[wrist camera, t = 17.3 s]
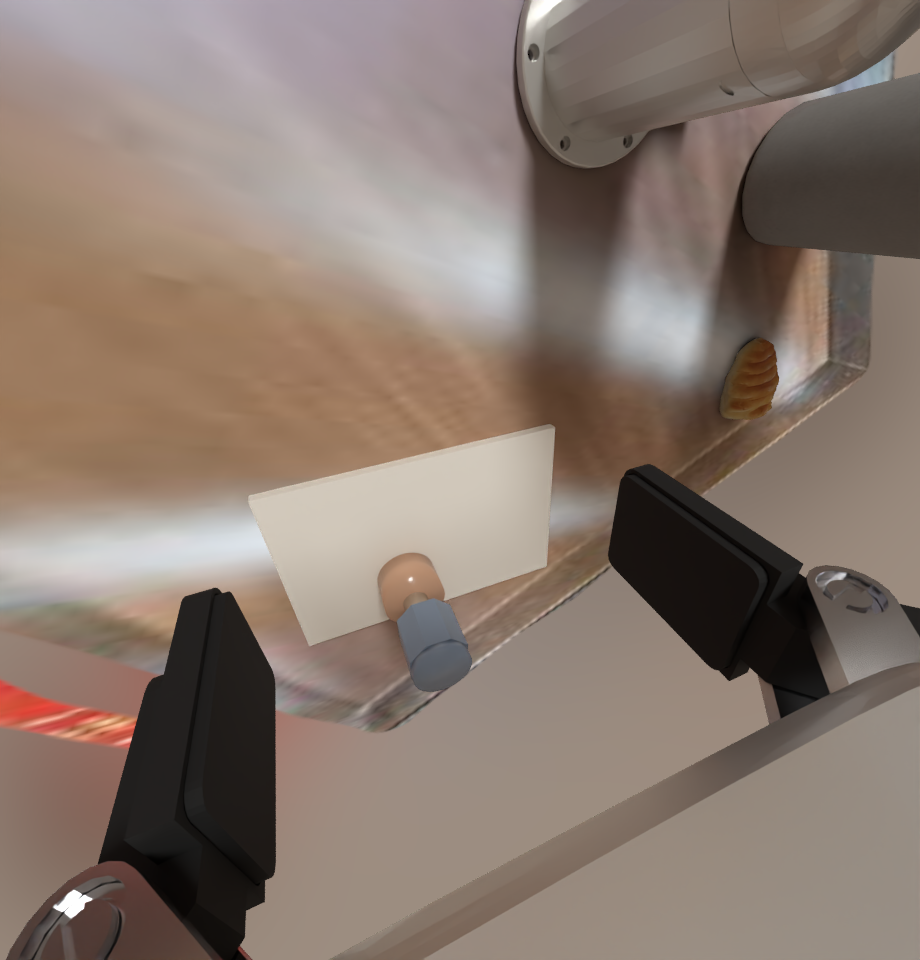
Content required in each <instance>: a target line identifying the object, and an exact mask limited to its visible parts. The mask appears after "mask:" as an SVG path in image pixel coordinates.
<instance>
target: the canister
mask: <svg viewBox="0 0 920 960" xmlns="http://www.w3.org/2000/svg"><path fill="white" fill-rule="evenodd" d="M742 216H743V219H744V223H745V226H746V229H747V231H748V233H749V234H750V235H751V236H752V237H753V238H754V240H756V241H757V242H761V243H764V244H768V245H776V246H787V247H798V248H808V249H819V250H830V251H840V252H851V253H862V254H872V255H883V256H894V257H904V258H916V259H920V73H918V74H914V75H910V76H907V77H902V78H898V79H894V80H890V81H886V82H882V83H878V84H874V85H870V86H866V87H862V88H858V89H854V90H851V91H847V92H843V93H839V94H835V95H831V96H827V97H823V98H819V99H815V100H811V101H807V102H804V103H802V104H800V105H799V106H797V107H795V108H794V109H792V110H790V111H789V112H787V113H786V114H785V115H784V116H783V117H782V118H781V119H780V120H779V121H778V122H777V123H776V124H775V125H774V126H773V127H772V128H771V129H770V131H769V132H768V134H767V135H766V137H765V139H764V140H763V142H762V143H761V145H760V147H759V148H758V150H757V151H756V153H755V156H754V158H753V161H752V163H751V166H750V168H749V171H748V173H747V177H746V181H745V186H744V191H743V196H742Z"/></svg>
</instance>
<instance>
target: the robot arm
mask: <svg viewBox="0 0 920 960" xmlns="http://www.w3.org/2000/svg"><path fill="white" fill-rule="evenodd" d="M919 28H920V0H525V2H524V5H523V8H522V12H521V18H520V24H519V30H518V36H517V60H516V64H517V75H518V86H519V91H520V95H521V100H522V104H523V108H524V111H525V114H526V116H527V119H528V121H529V124H530V127H531V128H532V130H533V132H534V134H535V135H536V137H537V139H538V140H539V142H540V143H541V144H542V146H543V147H544V148H545V149H546V150H547V151H548V152H549V153H550V155H552V156H553V157H555V158H556V159H558V160H559V161H560V162H562V163H564V164H567V165H569V166H572V167H575V168H586V169H589V168H596V167H602V166H605V165H608V164H611V163H614V162H616V161H617V160H619V159H621V158H622V157H624V156H625V155H627V154H628V153H629V152H630V151H631V150H633V149H634V148H635V147H636V146H637V145H638V144H639V143H640V142H641V140H642V139H643V138H644V137H645V135H646V134H647V133H648V132H649V130H652V129H656V128H661V127H665V126H669V125H674V124H678V123H682V122H687V121H691V120H695V119H700V118H704V117H708V116H713V115H717V114H721V113H726V112H730V111H734V110H739V109H743V108H747V107H752V106H756V105H760V104H765V103H769V102H773V101H778V100H782V99H786V98H791V97H795V96H800V95H804V94H808V93H812V92H816V91H820V90H823V89H826V88H829V87H832V86H835V85H838V84H840V83H842V82H844V81H847V80H849V79H851V78H853V77H855V76H857V75H859V74H860V73H862V72H864V71H865V70H867V69H868V68H870V67H872V66H873V65H875V64H877V63H878V62H880V61H881V60H882V59H884V58H885V57H886V56H888V55H889V54H890V53H891V52H893V51H894V50H895V49H896V48H898V47H899V46H900V45H901V44H903V43H904V42H905V41H906V40H907V39H908V38H909V37H911V36H912V35H913V34H914V33H915V32H916V31H917V30H918V29H919ZM527 52H528V53H529V54H530V59H529V58H528V53H527ZM560 142H561V148H560ZM608 557H609V561H610V563H611V565H612V566H613V567H614V569H615V570H616V571H617V572H618V573H619V574H620V575H621V576H622V577H623V578H624V579H625V580H626V581H627V582H628V583H629V584H630V585H631V586H632V587H633V588H634V589H635V590H636V591H637V592H638V593H639V594H640V595H641V596H642V598H643V599H644V600H645V601H646V602H647V603H648V604H649V605H650V606H651V607H652V608H653V609H654V610H655V611H656V612H657V613H658V614H659V615H660V616H661V617H662V618H663V619H664V620H665V621H666V622H667V623H668V624H669V625H670V627H671V628H673V630H674V631H675V632H676V633H677V634H678V635H679V636H680V637H681V638H682V639H683V640H684V641H685V642H686V643H687V644H688V645H689V646H690V647H691V648H692V649H693V650H694V651H695V652H696V653H697V654H698V655H699V657H701V659H702V660H703V661H704V662H705V663H706V664H707V665H708V666H710V667H711V668H713V669H715V670H719V671H720V672H721V673H722V674H723V675H724V676H725V677H726V678H727V680H729V681H730V680H732V679H734V678H737V677H739V676H741V675H743V674H745V673H747V672H748V670H749V668H751V669H752V670H753V671H754V672H755V673H757V674H758V678H759V682H760V686H761V691H762V694H763V700H764V704H765V708H766V713H767V717H768V721H769V725H768V726H766V727H764V728H762V729H760V730H758V731H756V732H755V733H753V734H751V735H749V736H747V737H745V738H743V739H741V740H739V741H738V742H735V743H734V744H731V745H730V746H728V747H726V748H724V749H722V750H720V751H718V752H716V753H714V754H712V755H710V756H708V757H706V758H704V759H703V760H701V761H699V762H697V763H695V764H693V765H691V766H689V767H687V768H685V769H684V770H682V771H680V772H678V773H676V774H674V775H672V776H670V777H668V778H666V779H664V780H663V781H661V782H659V783H657V784H655V785H653V786H652V787H649V788H647V789H645V790H644V791H642V792H640V793H638V794H636V795H634V796H632V797H630V798H628V799H627V800H625V801H623V802H621V803H619V804H617V805H615V806H613V807H611V808H609V809H607V810H605V811H604V812H602V813H600V814H598V815H596V816H594V817H592V818H590V819H588V820H587V821H585V822H583V823H581V824H579V825H577V826H575V827H573V828H571V829H569V830H567V831H566V832H564V833H562V834H560V835H558V836H556V837H554V838H552V839H551V840H549V841H547V842H545V843H543V844H541V845H539V846H537V847H536V848H534V849H532V850H530V851H528V852H526V853H524V854H523V855H520V856H519V857H517V858H515V859H513V860H511V861H509V862H507V863H506V864H504V865H502V866H500V867H498V868H496V869H494V870H492V871H491V872H489V873H487V874H485V875H483V876H481V877H479V878H477V879H475V880H473V881H472V882H470V883H468V884H466V885H464V886H462V887H460V888H459V889H457V890H455V891H453V892H451V893H449V894H447V895H446V896H443V897H442V898H440V899H438V900H436V901H434V902H432V903H430V904H428V905H427V906H425V907H423V908H421V909H419V910H418V911H416V912H414V913H413V914H410V915H409V916H407V917H405V918H403V919H402V920H400V921H398V922H396V923H394V924H393V925H391V926H389V927H387V928H385V929H384V930H382V931H380V932H379V933H376V934H375V935H373V936H371V937H369V938H367V939H366V940H364V941H362V942H360V943H358V944H357V945H355V946H353V947H351V948H349V949H348V950H346V951H344V952H342V953H340V954H338V955H337V956H335V957H333V958H332V959H329V960H920V608H915V607H910V606H906V605H902V604H899V603H898V601H897V599H896V598H895V597H894V596H893V595H892V593H891V592H890V591H889V590H888V589H887V588H885V587H884V586H883V585H882V584H880V583H879V582H877V581H876V580H874V579H872V578H870V577H868V576H866V575H864V574H862V573H859V572H857V571H854V570H851V569H847V568H843V567H839V566H828V565H825V566H819V567H815V568H813V569H812V570H810V571H809V573H808V575H807V577H806V578H805V577H804V576H802V575H801V574H799V571H800V569H801V567H802V566H803V563H801V562H800V561H798V560H797V559H795V558H793V557H792V556H791V555H789V554H787V553H786V552H784V551H783V550H781V549H780V548H778V547H777V546H775V545H774V544H772V543H771V542H769V541H768V540H766V539H765V538H763V537H762V536H760V535H758V534H757V533H756V532H754V531H752V530H751V529H749V528H748V527H746V526H745V525H743V524H742V523H740V522H739V521H737V520H736V519H734V518H732V517H731V516H730V515H728V514H726V513H725V512H723V511H722V510H720V509H719V508H717V507H716V506H714V505H713V504H711V503H710V502H708V501H707V500H705V499H704V498H702V497H701V496H699V495H698V494H696V493H695V492H693V491H692V490H690V489H688V488H687V487H685V486H684V485H682V484H681V483H679V482H678V481H676V480H675V479H673V478H672V477H670V476H669V475H667V474H666V473H664V472H663V471H661V470H660V469H658V468H656V467H655V466H653V465H651V464H647V465H643V466H640V467H636V468H633V469H629V470H627V471H626V473H625V475H624V477H623V478H622V479H621V481H620V486H619V492H618V498H617V504H616V510H615V516H614V522H613V528H612V534H611V540H610V546H609V552H608ZM275 761H276V760H275V679H274V674H273V671H272V669H271V667H270V665H269V663H268V661H267V659H266V657H265V655H264V653H263V651H262V650H261V648H260V646H259V644H258V642H257V640H256V638H255V636H254V634H253V632H252V631H251V629H250V627H249V625H248V623H247V621H246V619H245V617H244V615H243V613H242V612H241V610H240V608H239V606H238V604H237V602H236V600H235V598H234V596H233V595H232V593H231V592H225V593H221V591H220V590H219V589H218V588H213V589H209V590H206V591H202V592H199V593H195V594H192V595H188V596H185V597H184V598H183V600H182V602H181V606H180V610H179V614H178V618H177V622H176V626H175V631H174V635H173V639H172V643H171V647H170V651H169V655H168V660H167V664H166V668H165V672H164V675H161V676H158V677H155V678H153V679H152V680H151V681H150V682H149V684H148V686H147V688H146V691H145V693H144V697H143V700H142V704H141V708H140V711H139V715H138V719H137V722H136V726H135V730H134V733H133V737H132V741H131V744H130V748H129V752H128V755H127V759H126V762H125V766H124V770H123V773H122V777H121V781H120V785H119V788H118V792H117V796H116V799H115V803H114V807H113V810H112V814H111V817H110V821H109V825H108V829H107V832H106V836H105V840H104V843H103V847H102V850H101V854H100V858H99V862H98V865H95V866H92V867H89V868H88V869H86V870H84V871H83V872H81V873H79V874H78V875H76V876H75V877H73V878H71V879H70V880H68V881H67V882H66V883H65V884H64V885H63V886H61V887H60V888H59V889H58V890H57V891H56V892H55V893H54V894H52V896H50V897H49V898H48V899H47V900H46V901H45V902H44V903H43V905H42V906H41V907H40V908H39V909H38V911H37V912H36V913H35V914H34V915H33V916H32V918H31V919H30V920H29V921H28V922H27V924H26V925H25V927H24V929H23V930H22V932H21V933H20V935H19V937H18V938H17V940H16V941H15V943H14V944H13V946H12V948H11V949H10V951H9V953H8V956H7V958H6V960H252V959H251V958H250V956H249V955H248V954H247V953H246V952H245V951H244V950H243V949H242V948H241V947H240V944H241V943H242V941H243V939H244V938H245V920H246V919H245V918H246V910H248V909H250V908H252V907H255V906H257V905H259V904H261V903H263V902H265V880H267V879H269V878H271V877H272V876H273V875H274V872H275V863H276V825H275V824H276V811H275V810H276V805H275V804H276V794H275V793H276V788H275V786H276V785H275V784H276V778H275V777H276V776H275V775H276V774H275V771H276V769H275V768H276V767H275V766H276V763H275Z"/></svg>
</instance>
